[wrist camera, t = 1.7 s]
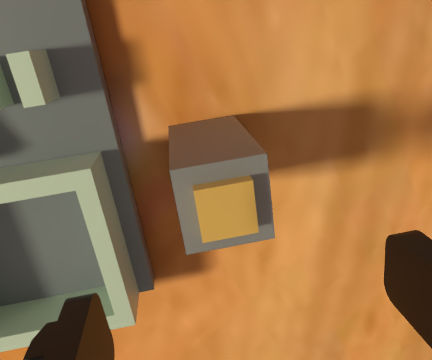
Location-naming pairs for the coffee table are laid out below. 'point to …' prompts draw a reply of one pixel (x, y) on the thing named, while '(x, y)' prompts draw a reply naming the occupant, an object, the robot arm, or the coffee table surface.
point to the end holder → (99, 233)
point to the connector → (219, 184)
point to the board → (57, 150)
